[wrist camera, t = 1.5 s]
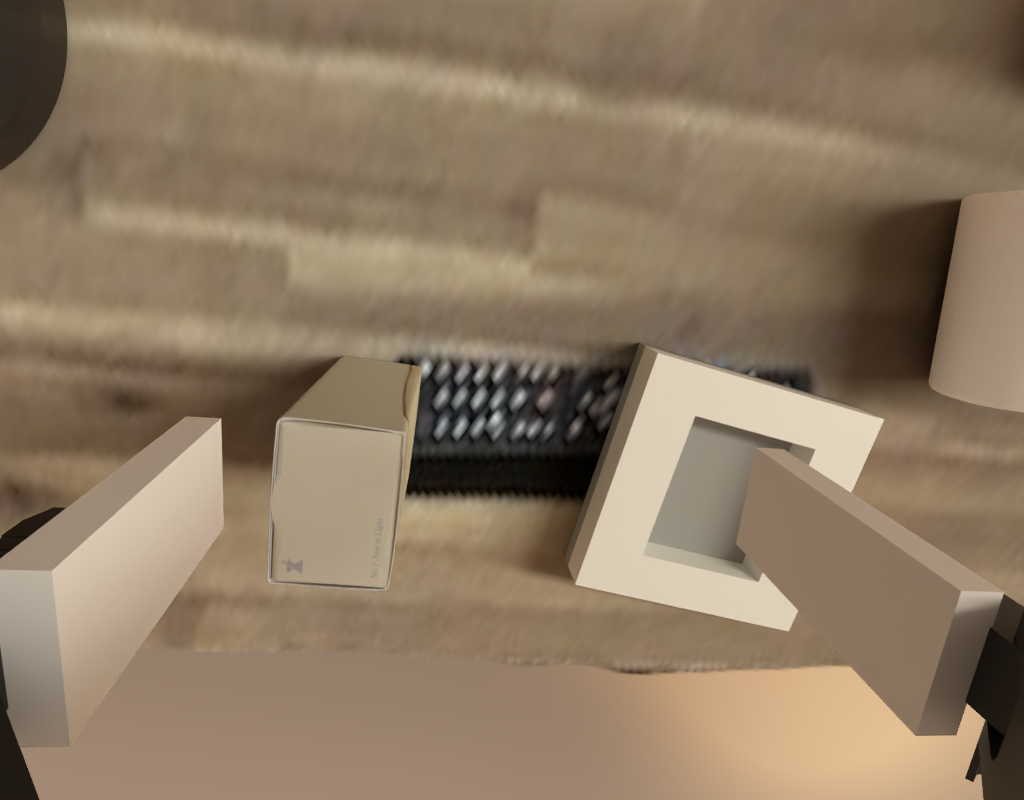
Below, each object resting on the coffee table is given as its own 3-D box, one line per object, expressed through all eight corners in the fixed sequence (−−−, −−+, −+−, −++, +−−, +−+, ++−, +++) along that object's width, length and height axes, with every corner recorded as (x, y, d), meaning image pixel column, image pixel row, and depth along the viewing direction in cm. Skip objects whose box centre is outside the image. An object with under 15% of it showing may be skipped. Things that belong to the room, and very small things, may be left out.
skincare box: (409, 474, 34) (392, 599, 22) (325, 465, 33) (262, 590, 22) (423, 361, 33) (412, 432, 21) (335, 349, 32) (273, 417, 20)
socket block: (564, 556, 36) (575, 584, 33) (639, 342, 34) (658, 353, 31) (762, 601, 39) (788, 631, 36) (848, 404, 36) (884, 419, 33)
